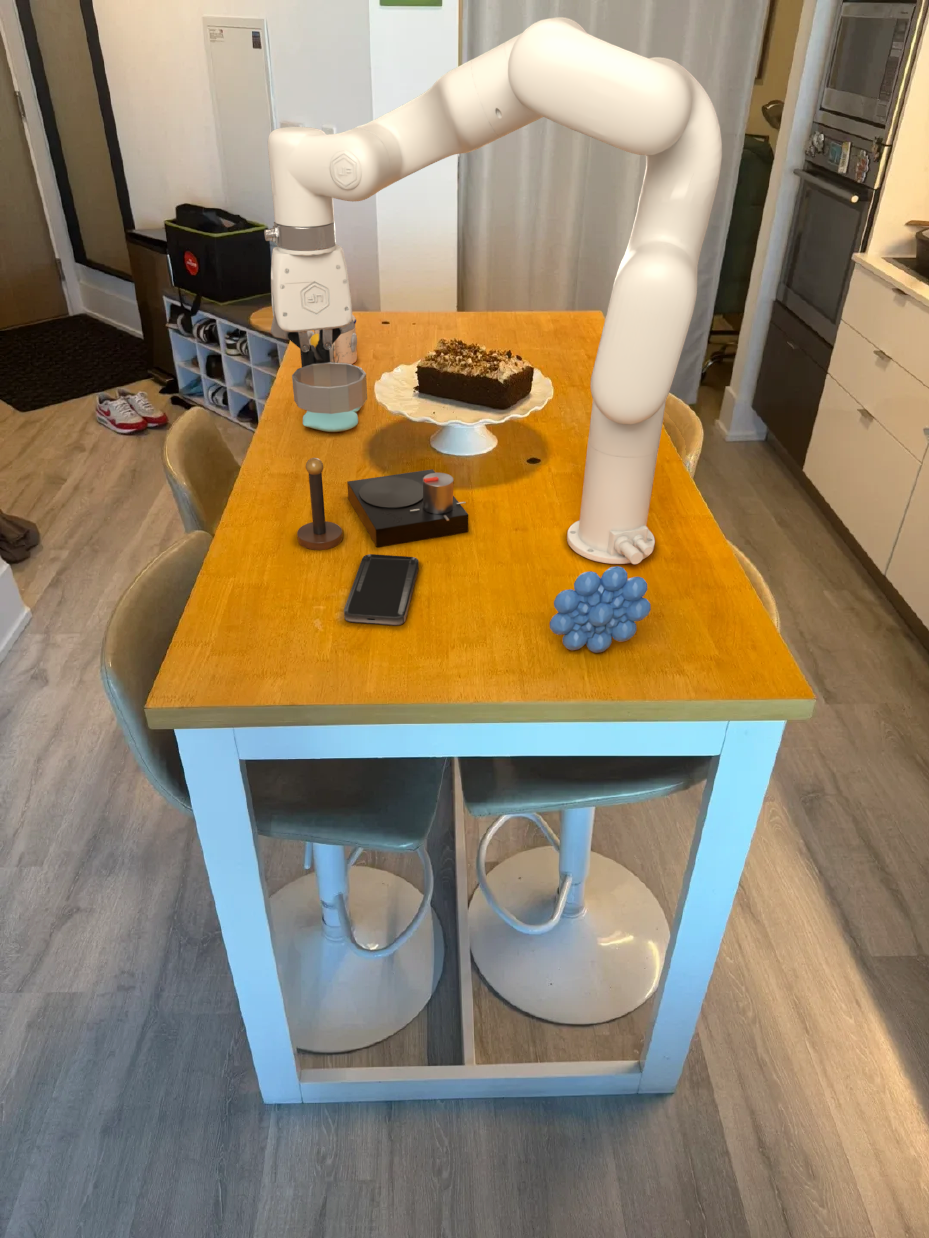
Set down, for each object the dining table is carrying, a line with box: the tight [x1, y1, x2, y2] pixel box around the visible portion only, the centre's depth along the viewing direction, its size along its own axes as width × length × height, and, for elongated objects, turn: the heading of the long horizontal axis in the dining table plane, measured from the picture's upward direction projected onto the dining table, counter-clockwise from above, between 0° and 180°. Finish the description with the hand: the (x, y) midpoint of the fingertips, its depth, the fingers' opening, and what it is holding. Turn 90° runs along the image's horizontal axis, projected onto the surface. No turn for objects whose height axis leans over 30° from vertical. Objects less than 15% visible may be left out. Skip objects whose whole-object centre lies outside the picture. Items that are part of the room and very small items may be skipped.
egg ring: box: [291, 345, 368, 414], centre depth 122 cm, size 16×9×4 cm, turn 21°
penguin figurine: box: [302, 330, 362, 433], centre depth 164 cm, size 20×11×15 cm, turn 1°
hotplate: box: [346, 468, 469, 548], centre depth 136 cm, size 17×15×3 cm
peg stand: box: [296, 457, 344, 551], centre depth 127 cm, size 6×6×13 cm
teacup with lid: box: [313, 314, 358, 365], centre depth 189 cm, size 12×9×12 cm
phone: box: [343, 553, 420, 626], centre depth 119 cm, size 8×1×15 cm
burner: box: [359, 477, 423, 508], centre depth 137 cm, size 10×10×1 cm
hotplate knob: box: [423, 472, 454, 514], centre depth 132 cm, size 4×4×5 cm
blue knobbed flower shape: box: [549, 565, 652, 654], centre depth 107 cm, size 12×7×12 cm, turn 89°
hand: (316, 375), depth 127 cm, fingers closed on egg ring, 1 cm apart
